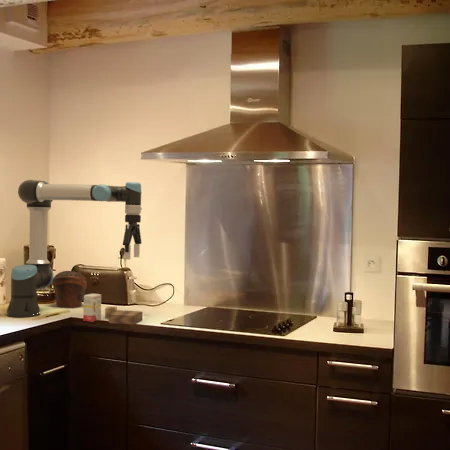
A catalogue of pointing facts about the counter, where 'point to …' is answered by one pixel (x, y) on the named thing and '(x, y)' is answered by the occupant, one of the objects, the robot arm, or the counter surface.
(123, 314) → the pedestal
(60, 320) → the counter surface
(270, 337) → the counter surface
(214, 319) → the counter surface
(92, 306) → the ink box
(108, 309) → the oak cube
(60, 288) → the brown plant pot
